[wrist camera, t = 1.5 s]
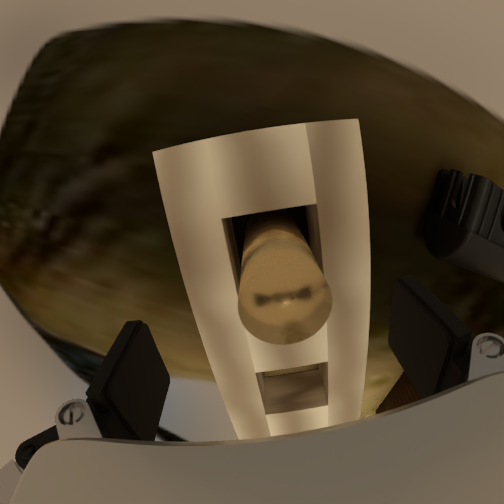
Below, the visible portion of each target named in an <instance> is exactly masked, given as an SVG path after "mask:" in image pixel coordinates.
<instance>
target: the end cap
mask: <svg viewBox="0 0 504 504" xmlns="http://www.w3.org/2000/svg"><path fill="white" fill-rule="evenodd" d="M424 237H425V242H426V245H427V248H428V250H429V252H430V253H431V254H432V255H433V256H434V257H435V258H437V259H439V260H442V261H445V262H448V263H450V264H453V265H456V266H459V267H462V268H464V269H467V270H470V271H473V272H475V273H478V274H481V275H483V276H486V277H489V278H491V279H494V280H496V281H499V282H503V283H504V190H503V189H501V188H500V187H499V186H497V185H496V184H494V183H493V182H492V181H490V180H489V179H487V178H485V177H482V176H479V175H475V174H471V173H470V175H469V179H467V178H465V177H463V173H462V172H461V171H457V170H453V169H450V171H449V170H445V169H441V170H440V171H439V173H438V176H437V179H436V183H435V186H434V189H433V193H432V196H431V199H430V202H429V205H428V209H427V214H426V218H425V224H424Z"/></svg>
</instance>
